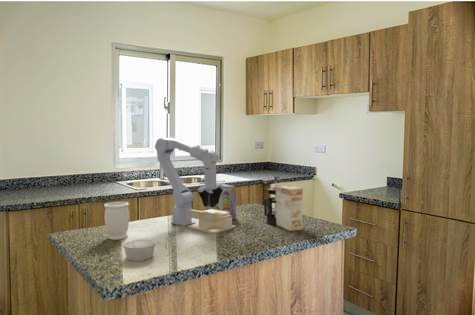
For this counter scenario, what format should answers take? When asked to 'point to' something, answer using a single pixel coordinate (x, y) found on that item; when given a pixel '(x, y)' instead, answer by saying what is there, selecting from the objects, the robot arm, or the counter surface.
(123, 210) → the jar
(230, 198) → the cake pan box
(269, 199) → the french press
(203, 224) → the stand
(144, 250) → the ramekin
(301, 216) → the coffeecake box
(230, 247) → the counter surface
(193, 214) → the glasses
